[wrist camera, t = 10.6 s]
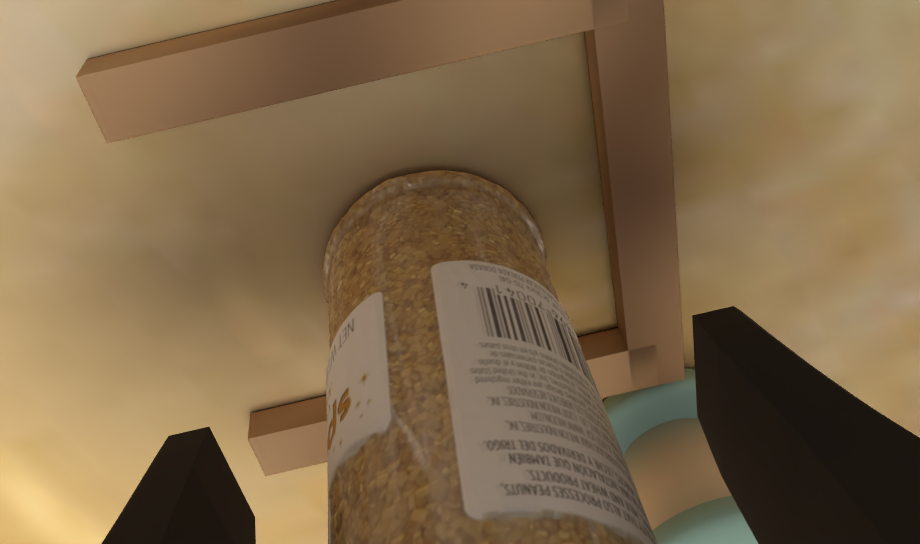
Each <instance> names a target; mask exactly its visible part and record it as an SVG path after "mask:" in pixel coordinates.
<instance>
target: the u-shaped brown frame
mask: <svg viewBox="0 0 920 544" xmlns="http://www.w3.org/2000/svg"><path fill="white" fill-rule="evenodd" d="M580 32H585V39H586V48H587V57H588V65H589V74H590V83H591V92H592V101H593V110H594V119H595V128H596V137H597V145H598V154H599V163H600V172H601V181H602V190H603V199H604V208H605V217H606V225H607V234H608V243H609V252H610V261H611V270H612V279H613V288H614V297H615V305H616V314H617V323H618V328H616V329H612V330H608V331H603V332H599V333H595V334H590V335H586V336H582V337H577V338H578V341H579V344H580V346H581V349H582V351H583V354H584V356H585V359H586V361H587V364H588V366H589V369H590V372H591V374H592V377H593V379H594V382H595V384H596V387H597V389H598V392H599V394H600V397H601V398H605V397H609V396H613V395H618V394H622V393H626V392H631V391H635V390H639V389H644V388H648V387H652V386H657V385H661V384H665V383H670V382H674V381H678V380H682V379H685V368H684V351H683V334H682V316H681V299H680V281H679V264H678V247H677V229H676V212H675V194H674V177H673V159H672V142H671V125H670V107H669V90H668V72H667V55H666V38H665V20H664V3H663V0H338V1H334V2H329V3H325V4H321V5H317V6H312V7H308V8H304V9H300V10H295V11H291V12H287V13H283V14H278V15H274V16H270V17H265V18H261V19H257V20H253V21H248V22H244V23H240V24H236V25H231V26H227V27H223V28H219V29H214V30H210V31H206V32H202V33H197V34H193V35H189V36H185V37H180V38H176V39H172V40H167V41H163V42H159V43H155V44H150V45H146V46H142V47H138V48H133V49H129V50H125V51H121V52H116V53H112V54H108V55H104V56H99V57H95V58H91V59H87V60H86V62H85V63H84V65H83V66H82V68H81V70H80V71H79V73H78V74H77V76H76V79H77V81H78V83H79V85H80V87H81V89H82V92H83V94H84V96H85V98H86V100H87V102H88V104H89V106H90V108H91V110H92V113H93V115H94V117H95V119H96V121H97V123H98V125H99V127H100V129H101V131H102V134H103V136H104V138H105V140H106V142H107V143H111V142H115V141H119V140H123V139H128V138H132V137H136V136H140V135H145V134H149V133H153V132H158V131H162V130H166V129H170V128H175V127H179V126H183V125H187V124H192V123H196V122H200V121H205V120H209V119H213V118H217V117H222V116H226V115H230V114H234V113H239V112H243V111H247V110H252V109H256V108H260V107H264V106H269V105H273V104H277V103H281V102H286V101H290V100H294V99H299V98H303V97H307V96H311V95H316V94H320V93H324V92H328V91H333V90H337V89H341V88H346V87H350V86H354V85H358V84H363V83H367V82H371V81H375V80H380V79H384V78H388V77H393V76H397V75H401V74H405V73H410V72H414V71H418V70H422V69H427V68H431V67H435V66H440V65H444V64H448V63H452V62H457V61H461V60H465V59H469V58H474V57H478V56H482V55H486V54H491V53H495V52H499V51H504V50H508V49H512V48H516V47H521V46H525V45H529V44H533V43H538V42H542V41H546V40H551V39H555V38H559V37H563V36H568V35H572V34H576V33H580ZM248 441H249V443H250V445H251V447H252V449H253V451H254V453H255V455H256V457H257V459H258V462H259V464H260V466H261V468H262V470H263V472H264V474H265V476H268V475H272V474H277V473H281V472H285V471H290V470H294V469H298V468H303V467H307V466H311V465H316V464H320V463H324V462H328V458H327V400H326V396H323V397H319V398H315V399H310V400H306V401H302V402H297V403H293V404H289V405H284V406H280V407H276V408H271V409H267V410H263V411H259V412H254V413H250V423H249V432H248Z"/></svg>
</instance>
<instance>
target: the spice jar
mask: <svg viewBox="0 0 920 544" xmlns="http://www.w3.org/2000/svg"><path fill="white" fill-rule="evenodd" d="M546 258H547V257H546V251H545V246H544V242H543V239H542V236H541V233H540V230H539V228H538V226H537V224H536V222H535V221H534V219H533V218H532V217H531V216H530V215H529V213H528V211H527V209H526V208H525V206H524V205H523V204H522V203H520V202H519V201H518V200H516V199H515V198H514V197H513V196H512V194H511V193H510V192H509V191H507V190H506V189H504V188H502V187H501V186H499V185H497V184H495V183H492V182H490V181H488V180H486V179H483V178H481V177H479V176H477V175H473V174H469V173H466V172H456V171H448V170H435V171H426V172H420V173H413V174H407V175H404V176H400V177H396V178H392V179H388V180H386V181H384V182H382V183H381V184H379V185H378V186H377V187H375V188H374V189H372V190H370V191H368V192H367V193H366V194H364V195H363V196H362V197H361V198H360V199H359V200H357V201H356V202H355V203H354V204H353V205H352V206H351V207H350V209H349V211H348V212H347V214H346V215H345V216H344V217H343V218H342V219H341V220H340V222H339V223H338V225H337V226H336V228H335V229H334V230H333V232H332V235H331V237H330V239H329V242H328V244H327V247H326V252H325V258H324V262H323V267H322V269H323V287H324V294H325V298H326V301H327V303H328V304H329V331H330V352H329V356H328V361H327V368H326V400H327V458H328V544H657V541H656V539H655V536H654V534H653V531H652V529H651V526H650V523H649V521H648V518H647V516H646V513H645V511H644V508H643V505H642V503H641V500H640V498H639V495H638V492H637V490H636V487H635V484H634V482H633V479H632V476H631V474H630V471H629V469H628V466H627V464H626V461H625V459H624V456H623V454H622V451H621V448H620V446H619V443H618V440H617V438H616V435H615V433H614V430H613V427H612V425H611V422H610V420H609V417H608V415H607V412H606V410H605V407H604V404H603V402H602V399H601V397H600V394H599V392H598V389H597V387H596V384H595V382H594V379H593V377H592V374H591V372H590V369H589V366H588V364H587V361H586V359H585V356H584V354H583V351H582V349H581V346H580V344H579V341H578V338H577V336H576V333H575V331H574V328H573V326H572V324H571V322H570V320H569V318H568V316H567V314H566V312H565V310H564V309H563V307H562V306H561V304H560V303H559V300H558V298H557V295H556V292H555V290H554V287H553V285H552V282H551V279H550V276H549V274H548V272H547V270H546Z"/></svg>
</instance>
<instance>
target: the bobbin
mask: <svg viewBox="0 0 920 544" xmlns="http://www.w3.org/2000/svg"><path fill="white" fill-rule="evenodd" d="M603 404H604V407H605V410H606V412H607V415H608V417H609V420H610V422H611V425H612V427H613V430H614V433H615V435H616V438H617V440H618V443H619V446H620V448H621V451H622V454H623V456H624V459H625V461H626V464H627V466H628V469H629V471H630V474H631V476H632V479H633V482H634V484H635V487H636V490H637V492H638V495H639V498H640V500H641V503H642V505H643V508H644V511H645V513H646V516H647V518H648V521H649V523H650V526H651V529H652V531H653V534H654V536H655V539H656V541H657V544H758V542H757V540H756V539H755V537H754V535H753V533H752V531H751V530H750V528H749V526H748V524H747V522H746V520H745V519H744V517H743V515H742V513H741V511H740V510H739V508H738V506H737V504H736V502H735V500H734V499H733V497H732V495H731V493H730V491H729V489H728V488H727V486H726V484H725V482H724V480H723V478H722V476H721V474H720V471H719V469H718V467H717V464H716V462H715V459H714V457H713V455H712V452H711V450H710V447H709V445H708V442H707V440H706V437H705V434H704V432H703V429H702V427H701V424H700V422H699V419H698V417H697V401H696V380H695V369H688V368H686V369H685V379H682V380H678V381H674V382H670V383H665V384H661V385H657V386H652V387H648V388H644V389H639V390H635V391H631V392H626V393H622V394H618V395H613V396H609V397H608V398H607V399H606V400H604V401H603Z"/></svg>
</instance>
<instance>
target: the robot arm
mask: <svg viewBox="0 0 920 544" xmlns="http://www.w3.org/2000/svg"><path fill="white" fill-rule="evenodd" d="M692 318H693V339H694V360H695V380H696V401H697V417H698V419H699V422H700V424H701V427H702V429H703V432H704V434H705V437H706V440H707V442H708V445H709V447H710V450H711V452H712V455H713V457H714V459H715V462H716V464H717V467H718V469H719V471H720V474H721V476H722V478H723V480H724V482H725V484H726V486H727V488H728V489H729V491H730V493H731V495H732V497H733V499H734V500H735V502H736V504H737V506H738V508H739V510H740V511H741V513H742V515H743V517H744V519H745V520H746V522H747V524H748V526H749V528H750V530H751V531H752V533H753V535H754V537H755V539H756V540H757V542H758V544H920V438H919V437H918V436H916V435H914V434H913V433H911V432H909V431H908V430H906V429H904V428H903V427H901V426H900V425H898V424H896V423H895V422H893V421H892V420H890V419H889V418H887V417H885V416H884V415H882V414H881V413H879V412H877V411H876V410H874V409H873V408H871V407H870V406H868V405H867V404H865V403H864V402H862V401H861V400H859V399H858V398H856V397H855V396H854V395H852V394H851V393H849V392H848V391H847V390H845V389H844V388H842V387H841V386H839V385H838V384H837V383H835V382H834V381H832V380H831V379H829V378H828V377H827V376H825V375H824V374H822V373H821V372H820V371H818V370H817V369H815V368H814V367H813V366H811V365H810V364H809V363H807V362H806V361H805V360H803V359H802V358H801V357H799V356H798V355H797V354H795V353H794V352H793V351H791V350H790V349H789V348H788V347H786V346H785V345H784V344H782V343H781V342H780V341H778V340H777V339H776V338H775V337H773V336H772V335H771V334H769V333H768V332H767V331H766V330H764V329H763V328H762V327H761V326H759V325H758V324H757V323H756V322H754V321H753V320H752V319H751V318H749V317H748V316H747V315H745V314H744V313H743V312H742V311H740V310H739V309H737V308H736V307H734V306H732V307H728V308H723V309H719V310H715V311H710V312H706V313H702V314H697V315H693V316H692ZM102 544H256V539H255V516H254V514H253V512H252V510H251V508H250V506H249V504H248V503H247V501H246V499H245V497H244V495H243V493H242V491H241V489H240V487H239V485H238V483H237V481H236V479H235V477H234V475H233V473H232V471H231V469H230V467H229V465H228V463H227V461H226V459H225V457H224V455H223V453H222V451H221V449H220V447H219V445H218V443H217V441H216V439H215V437H214V435H213V433H212V431H211V429H210V427H206V428H201V429H197V430H193V431H188V432H184V433H180V434H175V435H171V436H168V438H167V440H166V441H165V443H164V444H163V446H162V447H161V449H160V450H159V452H158V454H157V455H156V457H155V458H154V460H153V462H152V463H151V465H150V467H149V468H148V470H147V471H146V473H145V475H144V476H143V478H142V480H141V481H140V483H139V485H138V486H137V488H136V490H135V491H134V493H133V494H132V496H131V498H130V499H129V501H128V503H127V504H126V506H125V507H124V509H123V511H122V512H121V514H120V516H119V517H118V519H117V520H116V522H115V524H114V525H113V527H112V528H111V530H110V531H109V533H108V534H107V536H106V538H105V539H104V541H103V542H102Z"/></svg>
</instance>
